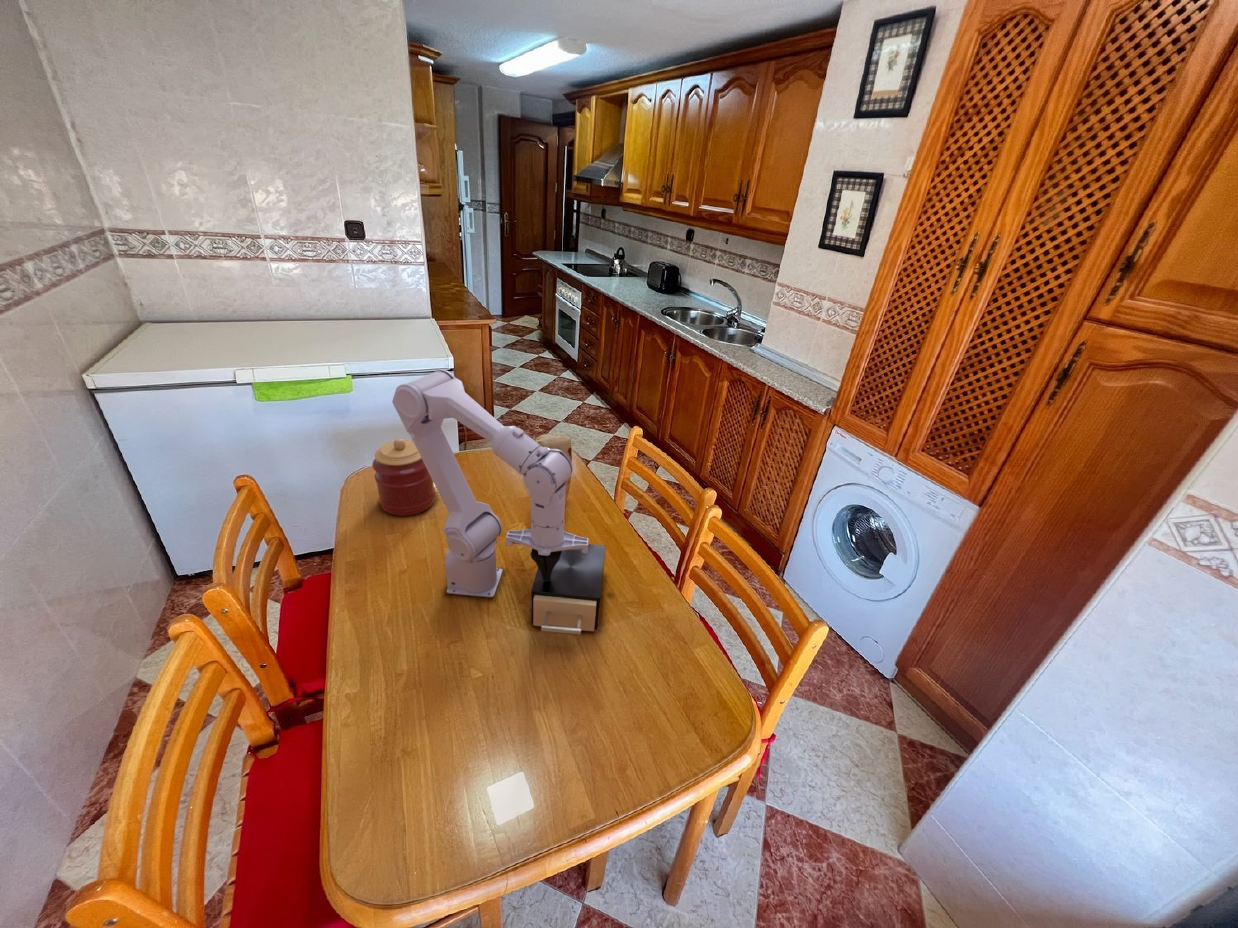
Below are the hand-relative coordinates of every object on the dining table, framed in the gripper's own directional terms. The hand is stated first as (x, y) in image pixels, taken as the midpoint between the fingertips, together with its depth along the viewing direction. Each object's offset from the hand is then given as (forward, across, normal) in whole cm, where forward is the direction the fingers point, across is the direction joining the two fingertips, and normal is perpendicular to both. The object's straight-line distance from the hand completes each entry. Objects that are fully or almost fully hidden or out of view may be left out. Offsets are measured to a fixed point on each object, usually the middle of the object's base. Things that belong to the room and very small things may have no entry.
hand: (547, 576), depth 92 cm
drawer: (+8, +4, 0) cm, 9 cm away
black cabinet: (+9, +4, +4) cm, 11 cm away
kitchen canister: (+10, -40, +31) cm, 52 cm away
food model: (+10, -5, +36) cm, 38 cm away
